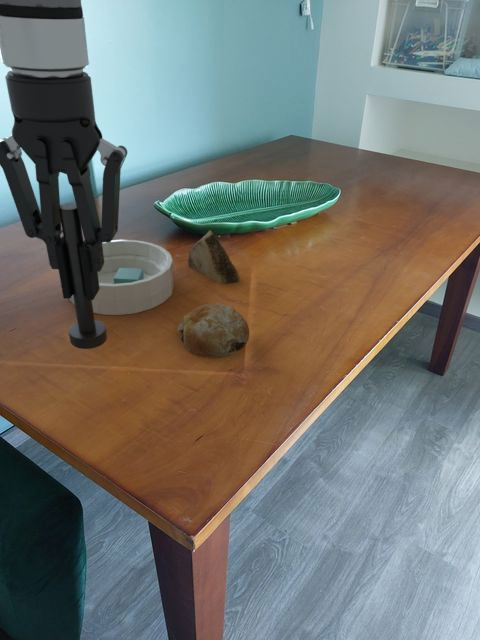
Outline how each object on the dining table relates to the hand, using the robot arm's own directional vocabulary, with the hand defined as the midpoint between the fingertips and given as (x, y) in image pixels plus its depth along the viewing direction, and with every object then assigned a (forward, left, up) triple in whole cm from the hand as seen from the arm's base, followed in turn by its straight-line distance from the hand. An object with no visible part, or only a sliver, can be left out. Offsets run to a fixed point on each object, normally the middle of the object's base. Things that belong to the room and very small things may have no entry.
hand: (81, 293), depth 63 cm
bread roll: (+14, +12, -14) cm, 24 cm away
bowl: (-3, +26, -14) cm, 30 cm away
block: (-1, +24, -13) cm, 27 cm away
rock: (+12, +34, -14) cm, 39 cm away
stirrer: (0, 0, -6) cm, 6 cm away
